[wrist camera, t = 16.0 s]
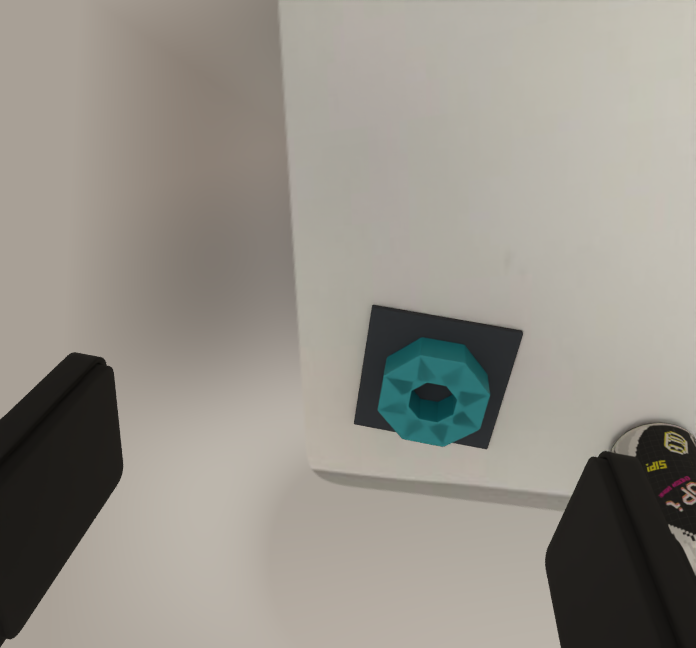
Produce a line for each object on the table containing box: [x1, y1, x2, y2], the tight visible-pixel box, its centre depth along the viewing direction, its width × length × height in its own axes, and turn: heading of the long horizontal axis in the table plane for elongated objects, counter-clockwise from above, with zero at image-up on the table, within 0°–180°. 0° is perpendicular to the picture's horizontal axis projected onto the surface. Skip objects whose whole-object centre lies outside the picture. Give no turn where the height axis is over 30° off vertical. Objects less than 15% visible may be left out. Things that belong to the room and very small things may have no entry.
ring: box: [378, 337, 490, 447], centre depth 39 cm, size 7×7×2 cm
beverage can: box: [612, 423, 696, 575], centre depth 35 cm, size 6×6×12 cm
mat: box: [354, 305, 523, 449], centre depth 40 cm, size 10×10×1 cm
